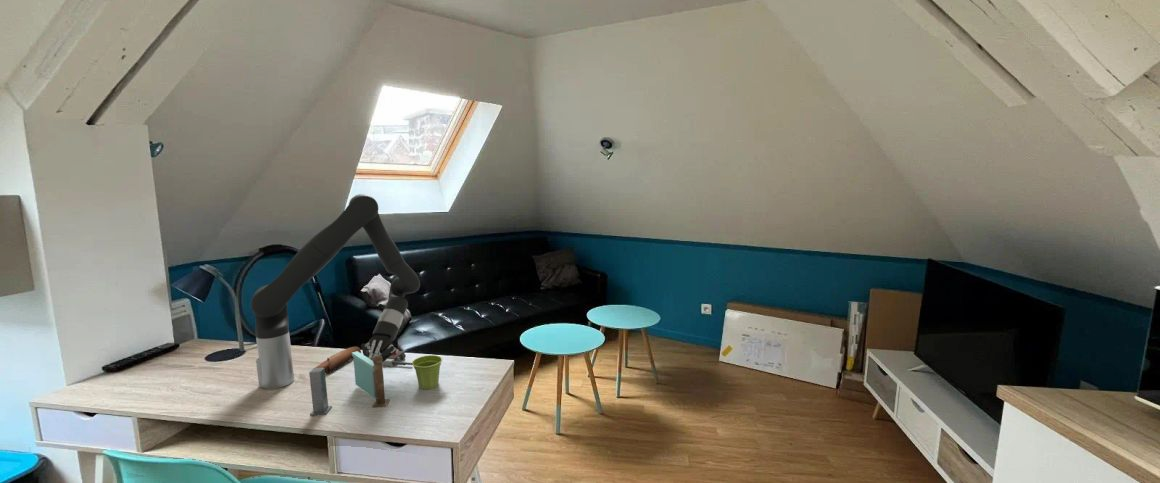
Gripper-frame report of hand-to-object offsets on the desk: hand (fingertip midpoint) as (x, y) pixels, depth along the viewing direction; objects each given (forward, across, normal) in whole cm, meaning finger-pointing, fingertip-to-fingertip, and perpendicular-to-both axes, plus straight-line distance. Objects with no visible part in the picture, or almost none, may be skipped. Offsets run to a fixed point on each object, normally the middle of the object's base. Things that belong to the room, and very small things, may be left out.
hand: (368, 372), depth 156 cm
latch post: (+16, -3, -9) cm, 18 cm away
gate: (+6, +3, -1) cm, 7 cm away
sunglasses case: (-6, -24, +14) cm, 29 cm away
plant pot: (0, +19, +7) cm, 20 cm away
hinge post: (+10, +11, -3) cm, 16 cm away
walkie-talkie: (-10, -5, +18) cm, 21 cm away
